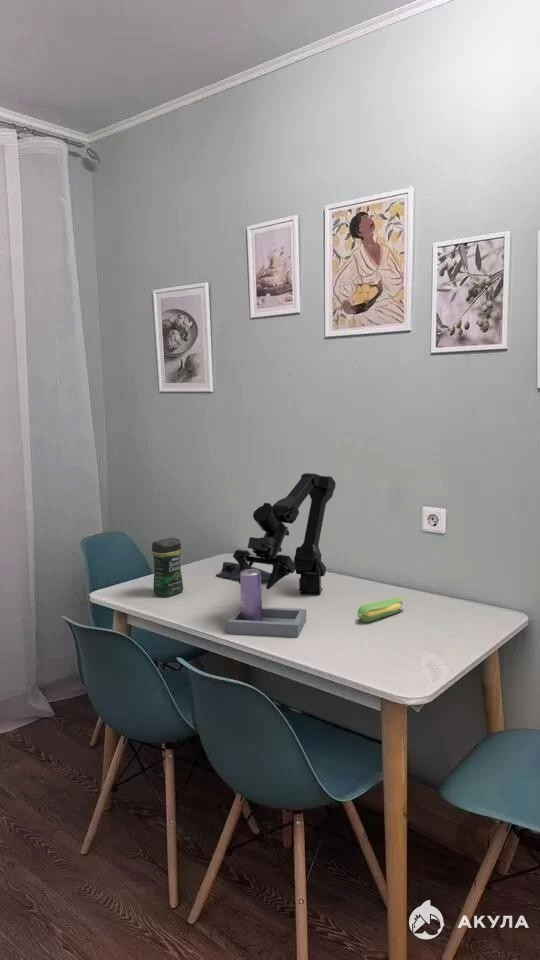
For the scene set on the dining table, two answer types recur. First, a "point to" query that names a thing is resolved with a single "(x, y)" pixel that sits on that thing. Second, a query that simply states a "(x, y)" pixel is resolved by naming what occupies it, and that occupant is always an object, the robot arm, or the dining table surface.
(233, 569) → the dark slate chunk
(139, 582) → the dining table surface
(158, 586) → the coffee jar
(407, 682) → the dining table surface
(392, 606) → the edible corn
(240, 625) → the tray
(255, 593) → the beverage can
